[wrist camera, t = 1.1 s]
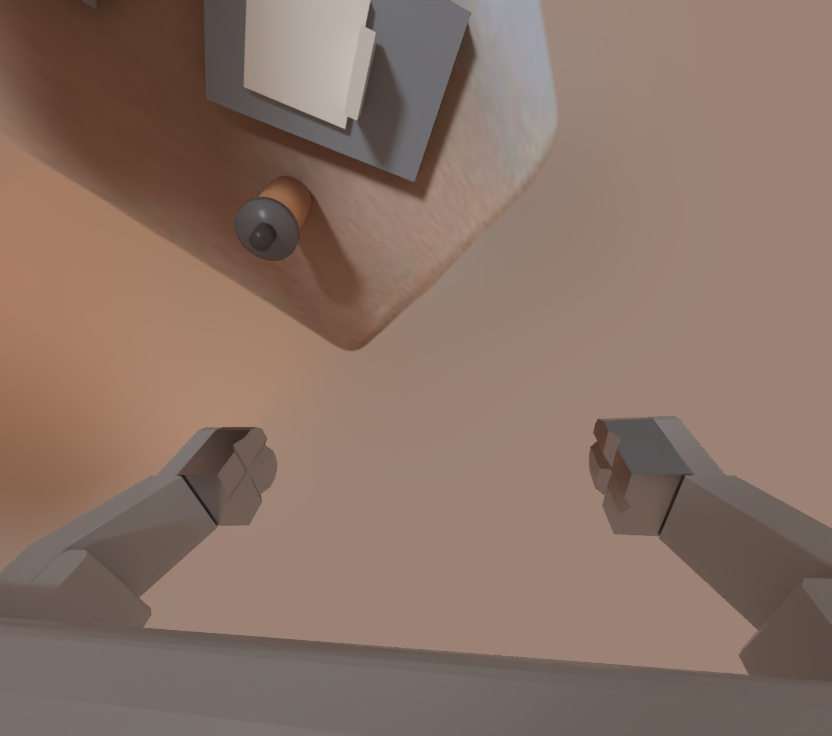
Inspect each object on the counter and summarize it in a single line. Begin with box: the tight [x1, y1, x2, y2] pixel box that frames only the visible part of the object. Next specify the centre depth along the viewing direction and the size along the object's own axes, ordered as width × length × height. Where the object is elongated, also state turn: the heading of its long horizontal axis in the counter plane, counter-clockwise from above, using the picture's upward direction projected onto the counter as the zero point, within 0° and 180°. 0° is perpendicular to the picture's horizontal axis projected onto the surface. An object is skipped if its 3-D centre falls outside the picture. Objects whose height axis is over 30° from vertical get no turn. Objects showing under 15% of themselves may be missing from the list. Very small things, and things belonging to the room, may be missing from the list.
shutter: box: [244, 0, 378, 129], centre depth 25 cm, size 9×8×5 cm
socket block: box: [203, 0, 471, 182], centre depth 28 cm, size 18×12×2 cm, turn 70°
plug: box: [235, 176, 312, 261], centre depth 31 cm, size 5×5×12 cm
